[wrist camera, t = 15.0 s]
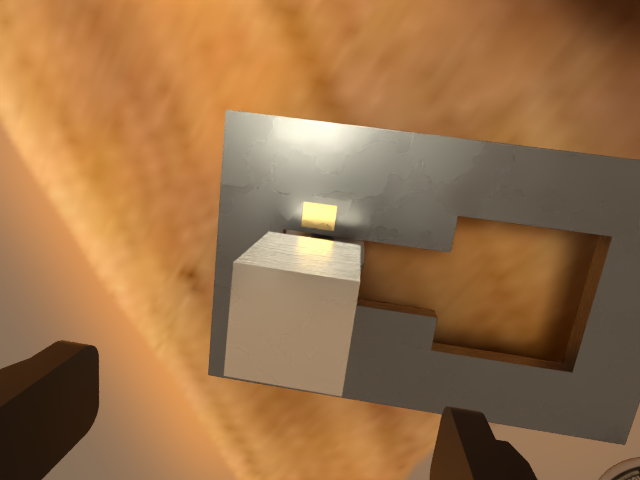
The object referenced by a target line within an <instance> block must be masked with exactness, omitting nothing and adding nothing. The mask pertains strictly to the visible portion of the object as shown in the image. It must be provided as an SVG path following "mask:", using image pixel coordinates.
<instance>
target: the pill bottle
mask: <svg viewBox="0 0 640 480" xmlns="http://www.w3.org/2000/svg"><path fill="white" fill-rule="evenodd" d="M599 480H640V457H638V458H632V459H628V460H625V461H622V462H620V463H618V464H616V465H614V466H613V467H611V468H610V469H608V470H607V471H606V472H605V473H604V474H603V475H602V476H601V477H600V478H599Z"/></svg>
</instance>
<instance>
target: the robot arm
mask: <svg viewBox="0 0 640 480" xmlns="http://www.w3.org/2000/svg"><path fill="white" fill-rule="evenodd" d="M98 408H99V354H98V350H97V348H96V347H95V346H92V345H87V344H81V343H75V342H69V341H63V340H62V341H57V342H55V343H53V344H52V345H51V346H49V347H47V348H45V349H44V350H42V351H41V352H39V353H37V354H36V355H34V356H33V357H31V358H29V359H26V360H24V361H21V362H18V363H16V364H13V365H10V366H7V367H5V368H2V369H0V480H42V478H44V477H45V476H46V475H47V474H48V472H50V470H51V469H52V468H53V467H54V466H55V465H56V464H57V463H58V462H59V461H60V460H61V459H62V458H63V457H64V456H65V455H66V454H67V453H68V452H69V451H70V450H71V449H72V448H73V447H74V446H75V445H76V444H77V443H78V442H79V441H80V440H81V439H82V438H83V437H84V436H85V435H86V433H87V432H88V431H89V429H90V428H91V426H92V425H93V423H94V421H95V418H96V416H97V412H98ZM430 480H537V478H536V476H535V474H534V472H533V471H532V468H531V467H530V465H529V463H528V462H527V461H526V460H525V459H524V458H523V456H522V455H520V453H518V451H517V450H516V449H515V448H514V447H513V446H512V445H511V444H510V443H509V442H506V441H500V440H496V439H495V437H494V435H493V433H492V430H491V428H490V426H489V424H488V422H487V419H486V417H485V415H484V414H483V413H482V412H479V411H473V410H467V409H461V408H455V407H449V406H446V407H445V408H444V410H443V413H442V417H441V421H440V426H439V431H438V435H437V440H436V445H435V449H434V454H433V458H432V463H431V469H430Z"/></svg>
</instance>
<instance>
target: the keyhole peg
mask: <svg viewBox="0 0 640 480" xmlns="http://www.w3.org/2000/svg"><path fill="white" fill-rule="evenodd" d="M364 259H365V246H364V240H358V239H351V238H343V237H336V236H329V235H322V234H315V233H308V232H301V231H294V230H287V229H286V234H282V233H275V232H268V233H267V234H265V235H264V236H263V237H262V238H261V239H260V240H258V241H257V242H256V243H255V244H254V245H253V246H251V247H250V248H249V249H248V250H247V251H246V252H244V253H243V254H242V255H241V256H240V257H239V258H238V259H236V260H235V261H234V262H233V272H232V283H231V295H230V307H229V319H228V331H227V342H226V354H225V366H224V376H227V377H233V378H239V379H244V380H250V381H256V382H261V383H267V384H273V385H278V386H284V387H290V388H295V389H301V390H307V391H312V392H318V393H324V394H329V395H335V396H341V397H342V392H343V386H344V380H345V373H346V367H347V361H348V355H349V348H350V342H351V336H352V330H353V323H354V317H355V311H356V305H357V299H358V292H359V286H360V273H361V271H362V268H363V264H364Z"/></svg>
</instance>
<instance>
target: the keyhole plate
mask: <svg viewBox="0 0 640 480" xmlns="http://www.w3.org/2000/svg"><path fill="white" fill-rule="evenodd" d="M458 216H463V217H470V218H478V219H485V220H493V221H500V222H507V223H515V224H522V225H530V226H537V227H545V228H552V229H560V230H567V231H574V232H582V233H589V234H597V235H599V237H598V241H597V244H596V248H595V251H594V255H593V258H592V262H591V265H590V269H589V272H588V276H587V279H586V283H585V286H584V290H583V293H582V297H581V300H580V304H579V307H578V311H577V314H576V318H575V321H574V325H573V328H572V332H571V335H570V339H569V342H568V346H567V349H566V353H565V356H564V360H563V363H562V362H556V361H549V360H543V359H536V358H530V357H524V356H517V355H511V354H504V353H498V352H492V351H485V350H479V349H472V348H466V347H459V346H453V345H447V344H440V343H434V342H433V338H434V333H435V328H436V323H437V316H436V313H435V311H434V310H429V309H422V308H416V307H409V306H402V305H396V304H389V303H383V302H376V301H369V300H363V299H357V305H356V311H355V317H354V323H353V330H352V336H351V342H350V348H349V355H348V361H347V367H346V373H345V380H344V386H343V392H342V398H348V399H354V400H360V401H366V402H371V403H377V404H383V405H389V406H395V407H401V408H407V409H413V410H419V411H425V412H431V413H437V414H442V413H443V410H444V408H445V407H446V406H449V407H455V408H461V409H467V410H473V411H479V412H482V413H483V414H484V415H485V417H486V419H487V422H491V423H497V424H503V425H509V426H515V427H521V428H526V429H533V430H538V431H544V432H551V433H556V434H563V435H568V436H574V437H581V438H586V439H592V440H598V441H604V442H610V443H616V444H622V445H625V444H626V441H627V438H628V435H629V432H630V429H631V426H632V423H633V420H634V417H635V415H636V411H637V409H638V406H639V403H640V160H636V159H627V158H619V157H611V156H603V155H594V154H586V153H578V152H570V151H561V150H553V149H545V148H537V147H528V146H520V145H512V144H504V143H495V142H487V141H479V140H471V139H462V138H454V137H446V136H438V135H430V134H421V133H413V132H405V131H397V130H388V129H380V128H372V127H364V126H355V125H347V124H339V123H331V122H322V121H314V120H306V119H298V118H289V117H281V116H273V115H265V114H256V113H248V112H240V111H232V110H226V114H225V129H224V144H223V159H222V174H221V190H220V205H219V220H218V235H217V250H216V265H215V280H214V295H213V310H212V325H211V340H210V355H209V370H208V375H210V376H216V377H222V378H228V379H234V380H240V381H246V382H252V383H258V384H264V385H270V386H276V387H282V388H288V389H294V390H300V391H306V392H312V391H307V390H301V389H295V388H290V387H284V386H278V385H273V384H267V383H261V382H256V381H250V380H244V379H239V378H233V377H227V376H224V366H225V354H226V342H227V331H228V319H229V307H230V295H231V283H232V272H233V262H234V261H235V260H236V259H238V258H239V257H240V256H241V255H242V254H243V253H244V252H246V251H247V250H248V249H249V248H250V247H251V246H253V245H254V244H255V243H256V242H257V241H258V240H260V239H261V238H262V237H263V236H264V235H265V234H267V233H268V232H275V233H282V234H286V229H287V230H294V231H301V232H308V233H315V234H322V235H329V236H336V237H343V238H351V239H358V240H365V241H372V242H379V243H386V244H393V245H400V246H407V247H415V248H422V249H429V250H436V251H443V252H450V253H451V249H452V244H453V239H454V234H455V229H456V224H457V219H458ZM312 393H318V392H312ZM318 394H324V393H318ZM324 395H329V394H324ZM330 396H335V395H330ZM336 397H341V396H336Z"/></svg>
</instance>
